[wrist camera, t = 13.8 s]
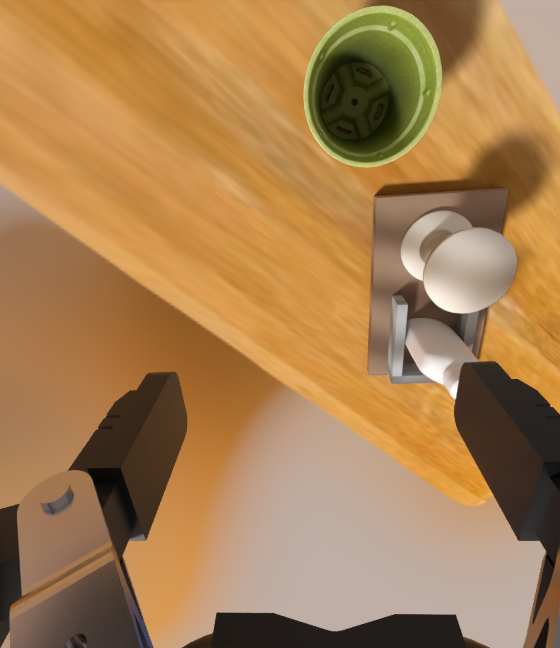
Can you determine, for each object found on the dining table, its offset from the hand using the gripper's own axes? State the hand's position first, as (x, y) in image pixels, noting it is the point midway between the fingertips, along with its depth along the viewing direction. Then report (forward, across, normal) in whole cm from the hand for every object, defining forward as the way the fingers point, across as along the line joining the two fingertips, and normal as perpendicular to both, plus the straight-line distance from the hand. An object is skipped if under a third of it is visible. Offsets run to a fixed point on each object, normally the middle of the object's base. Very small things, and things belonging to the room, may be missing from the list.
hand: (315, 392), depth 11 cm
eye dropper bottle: (+29, -13, +14) cm, 34 cm away
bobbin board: (+30, -13, +9) cm, 34 cm away
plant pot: (+30, -5, -9) cm, 32 cm away
